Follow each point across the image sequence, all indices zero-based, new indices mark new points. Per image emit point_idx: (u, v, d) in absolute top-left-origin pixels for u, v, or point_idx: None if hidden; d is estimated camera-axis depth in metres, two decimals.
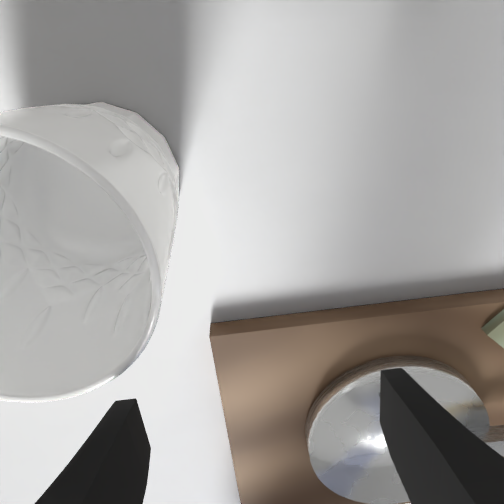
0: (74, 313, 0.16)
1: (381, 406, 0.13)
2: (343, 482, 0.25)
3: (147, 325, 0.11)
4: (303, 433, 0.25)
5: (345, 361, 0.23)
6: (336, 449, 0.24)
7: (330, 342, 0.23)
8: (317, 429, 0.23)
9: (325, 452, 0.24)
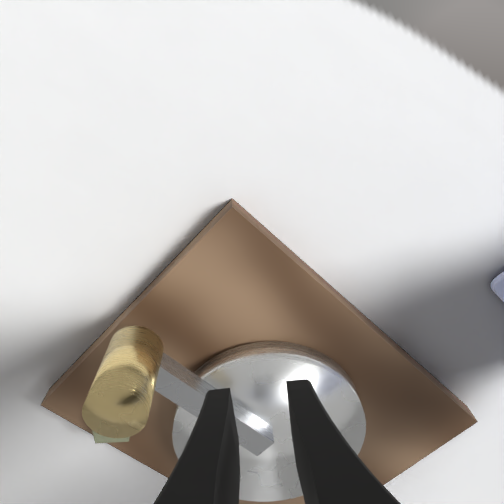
0: None
1: None
2: (347, 438, 0.23)
3: None
4: None
5: None
6: None
7: None
8: (302, 493, 0.24)
9: None
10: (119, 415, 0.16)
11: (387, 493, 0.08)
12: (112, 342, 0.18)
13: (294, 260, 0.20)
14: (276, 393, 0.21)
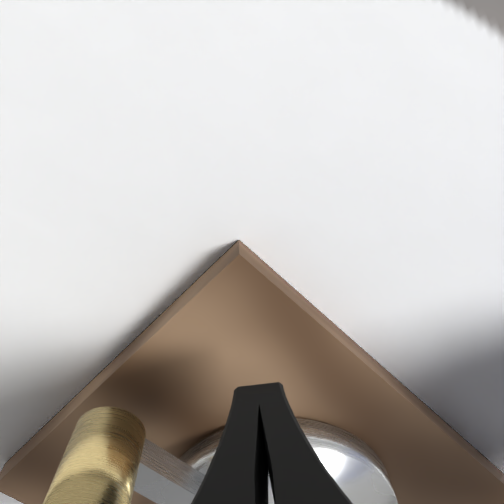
0: None
1: None
2: None
3: None
4: None
5: None
6: None
7: None
8: None
9: None
10: None
11: (344, 498, 0.08)
12: (76, 432, 0.14)
13: (317, 320, 0.15)
14: None
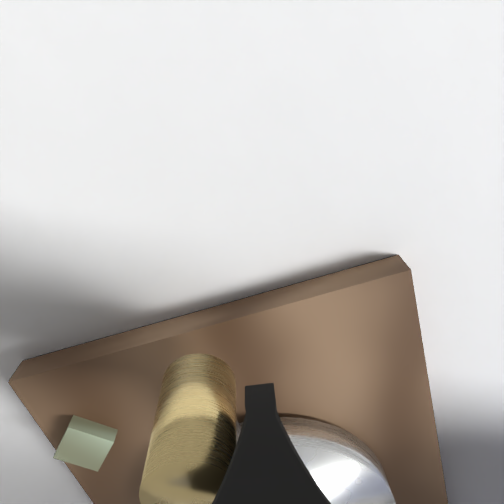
0: None
1: None
2: None
3: None
4: None
5: None
6: None
7: None
8: None
9: None
10: (193, 499, 0.11)
11: (324, 500, 0.08)
12: (187, 371, 0.13)
13: None
14: None
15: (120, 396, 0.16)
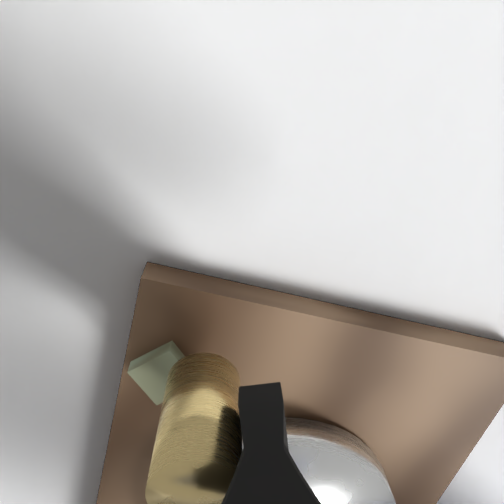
0: None
1: None
2: None
3: None
4: None
5: None
6: None
7: None
8: None
9: None
10: (200, 497, 0.11)
11: (315, 501, 0.08)
12: (192, 370, 0.13)
13: None
14: (320, 492, 0.17)
15: (230, 345, 0.16)
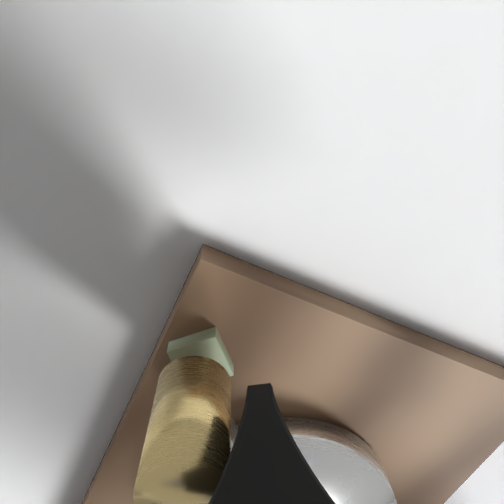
0: None
1: None
2: None
3: None
4: None
5: None
6: None
7: None
8: None
9: None
10: (187, 500, 0.11)
11: (328, 500, 0.08)
12: (180, 373, 0.13)
13: None
14: None
15: (271, 340, 0.16)
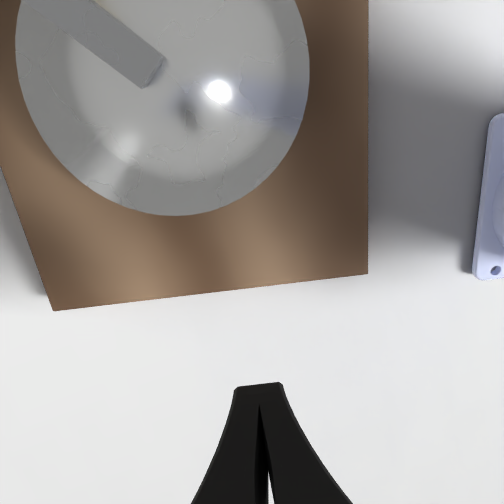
0: None
1: None
2: (283, 75, 0.15)
3: None
4: None
5: None
6: (243, 144, 0.16)
7: (37, 180, 0.18)
8: (236, 194, 0.17)
9: (258, 152, 0.16)
10: None
11: (344, 498, 0.08)
12: None
13: None
14: None
15: None
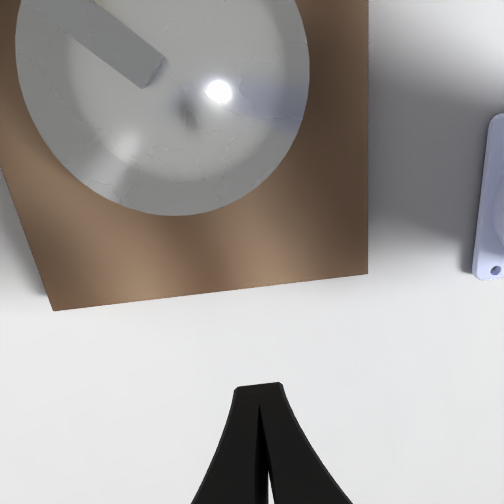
0: None
1: None
2: (283, 75, 0.15)
3: None
4: None
5: None
6: (243, 144, 0.16)
7: (37, 180, 0.18)
8: (236, 194, 0.17)
9: (258, 152, 0.16)
10: None
11: (344, 498, 0.08)
12: None
13: None
14: None
15: None
